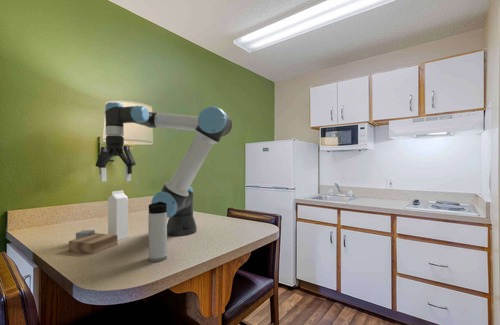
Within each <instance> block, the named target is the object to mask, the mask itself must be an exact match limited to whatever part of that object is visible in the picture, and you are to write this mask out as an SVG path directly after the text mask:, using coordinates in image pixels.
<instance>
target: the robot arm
mask: <svg viewBox="0 0 500 325" xmlns="http://www.w3.org/2000/svg"><path fill="white" fill-rule="evenodd" d="M104 108H105V109H104V116H105V117H104V118H105V144H106V146H101V147H100V153H99V155H98V157H97V159H96V162H95V167H97V168H98V169H99V175H100V182H102V183H103V182H107V167H106V166H107V164H108V163H109V161H110V160H111V158H112V157H119V158H120V159H121V161H122V162H123V163H124V165H126V166H125V168H124V170H125V176H124V178H125V179H124V180H125V182H131V181H132V174H133V167H134V166H136V164H137V163H136V161H135V158H134V157H133V155H132V152H131V150H130V146H129V145H124V144H125V141H124V140H125V138H124V137H123V136H124V134H125V133H124V128H125V127H124V124H137V125H141V126H144V127H147V128H151V129H155V128H160V129H170V130H181V131H190V132H191V131H193V132H195V136H194V138H193V140H192V142H191V144H190V145H189V147H188V148H187V151H185V152H186V153H185V154H184V156H183V158H182V160H181V162H179V164H178V167H177V169H176V170H175V172H174V174H173V175H172V178H170V181H167V182H165V183H164V185H163V186H162V188H161V190H160V191H159V192H157V193H155V195H153V197H152V198H151V202H150V204H152V203H158V202H163V203H166V204H167V209H166V210H167V236H177V237H178V236H187V235H192V234H194V233H196V232H197V230H198V227H197V223H196V220H195V217H194V189H193V187H192V186H191V185H192V183H193V181H194V179H195V177H196V176H197V174H198V172H199V170H200V169H201V167H202V166H203V163H204V162H205V160H206V158H207V156H208V154H209V153H210V151H211V150H212V147H213V146H214V145H217V144H218V143H220V141H221V139H222V137H226V136H227V135H228V134H229V133H230V132H231V131H232V129H233V121H232V119H231V117H230V115H228V114H227V113H226V112H225V111H224V110H223V109H222V108H219V107H218V106H214V105H213V106H211V105H210V106H207V107H205V108H203V109H202V110H201V111H200V113H198V115H188V114H176V113H163V112H153V111H149V110H148V108H147V107H146V106H144V105H134V106H133V105H132V106H131V105H130V106H124V105H123V104H122V103H120V102H117V101H116V102H115V101H114V102H113V101H110V102H107V103H105V107H104Z"/></svg>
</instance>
